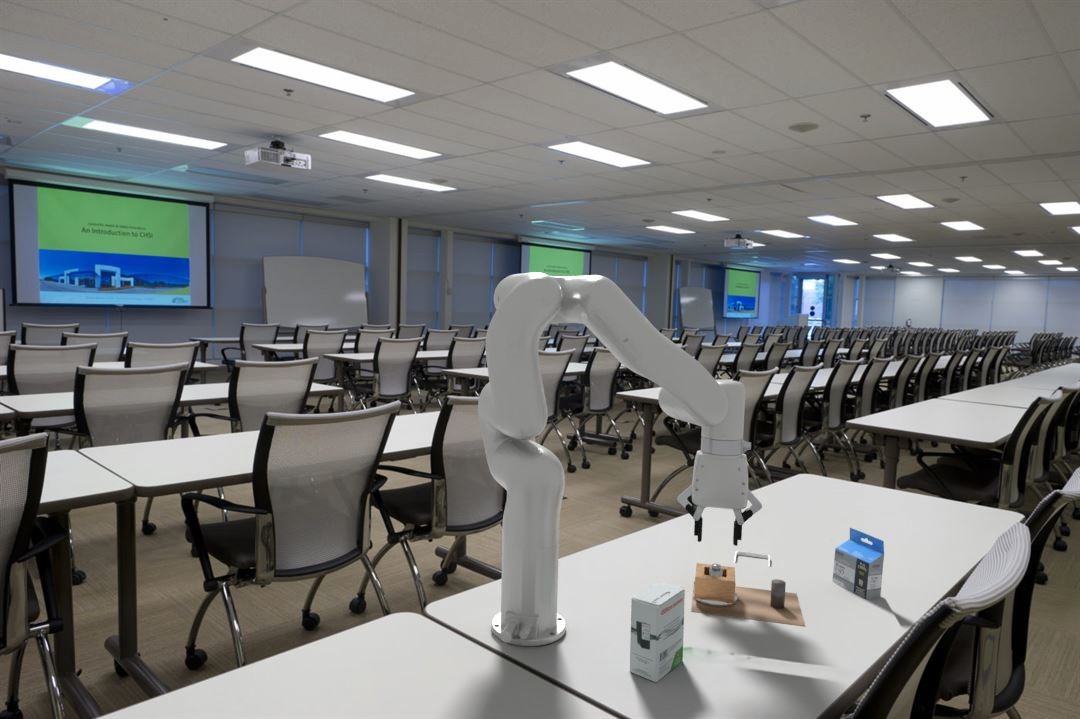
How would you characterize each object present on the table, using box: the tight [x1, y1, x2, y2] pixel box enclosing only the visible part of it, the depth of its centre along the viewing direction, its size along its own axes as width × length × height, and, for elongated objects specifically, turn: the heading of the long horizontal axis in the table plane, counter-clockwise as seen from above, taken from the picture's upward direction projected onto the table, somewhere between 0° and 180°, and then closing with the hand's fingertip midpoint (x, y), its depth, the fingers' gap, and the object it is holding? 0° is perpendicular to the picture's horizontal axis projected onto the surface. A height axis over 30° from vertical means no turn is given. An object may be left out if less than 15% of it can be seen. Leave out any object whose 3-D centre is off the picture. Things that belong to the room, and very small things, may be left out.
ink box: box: [629, 581, 686, 683], centre depth 108 cm, size 9×5×12 cm, turn 141°
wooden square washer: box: [694, 562, 736, 603], centre depth 130 cm, size 7×7×4 cm
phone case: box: [733, 550, 771, 567], centre depth 150 cm, size 7×1×15 cm
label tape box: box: [832, 527, 885, 600], centre depth 136 cm, size 9×4×12 cm, turn 21°
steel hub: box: [692, 563, 737, 608], centre depth 130 cm, size 8×8×6 cm
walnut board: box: [690, 578, 806, 627], centre depth 129 cm, size 14×19×6 cm
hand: (717, 540), depth 132 cm, fingers open, 5 cm apart
